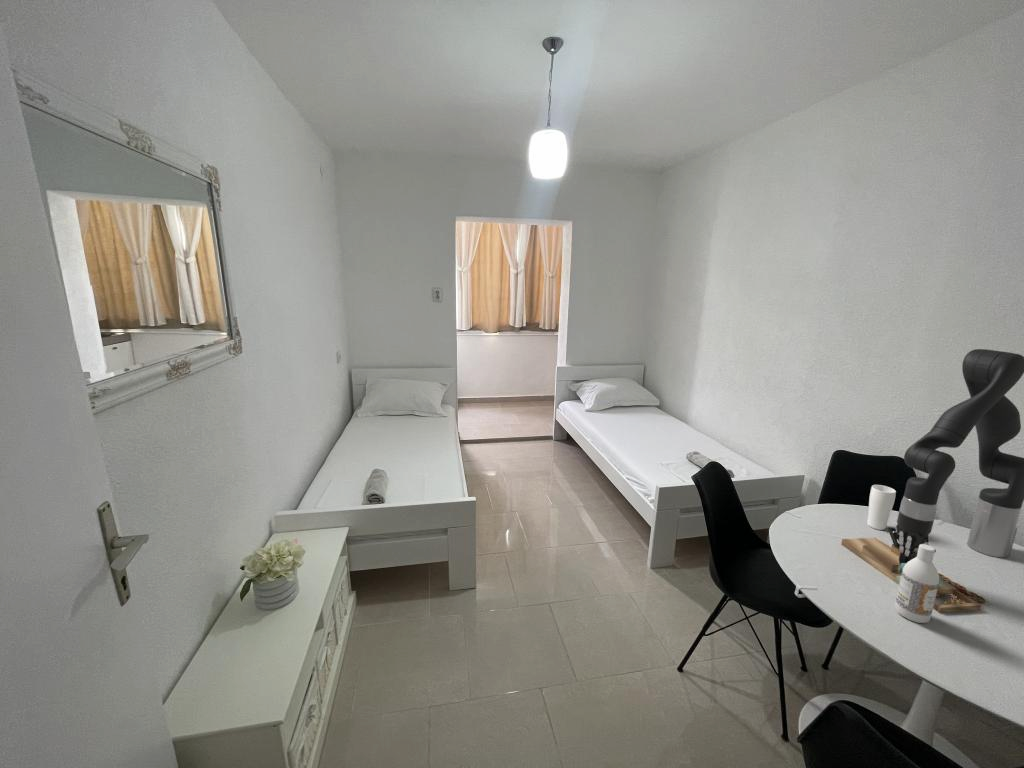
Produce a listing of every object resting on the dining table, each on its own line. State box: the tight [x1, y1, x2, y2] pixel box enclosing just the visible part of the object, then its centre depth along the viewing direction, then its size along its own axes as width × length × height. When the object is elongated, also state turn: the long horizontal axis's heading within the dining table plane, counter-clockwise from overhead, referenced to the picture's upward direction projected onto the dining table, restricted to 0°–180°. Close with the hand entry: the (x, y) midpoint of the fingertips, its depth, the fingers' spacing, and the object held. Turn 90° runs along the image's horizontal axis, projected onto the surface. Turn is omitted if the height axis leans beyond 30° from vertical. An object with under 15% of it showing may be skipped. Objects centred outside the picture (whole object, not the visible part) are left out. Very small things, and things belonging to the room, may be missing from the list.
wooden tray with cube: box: [841, 537, 982, 614], centre depth 130 cm, size 12×32×4 cm, turn 5°
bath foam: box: [894, 544, 939, 624], centre depth 112 cm, size 7×7×20 cm
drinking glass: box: [866, 484, 897, 531], centre depth 154 cm, size 7×7×15 cm
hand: (904, 565), depth 129 cm, fingers closed
